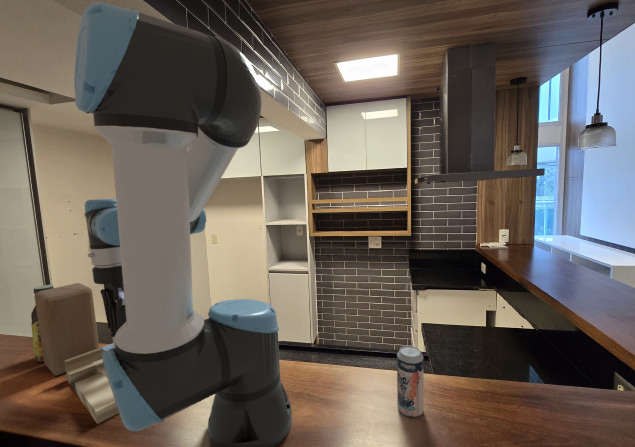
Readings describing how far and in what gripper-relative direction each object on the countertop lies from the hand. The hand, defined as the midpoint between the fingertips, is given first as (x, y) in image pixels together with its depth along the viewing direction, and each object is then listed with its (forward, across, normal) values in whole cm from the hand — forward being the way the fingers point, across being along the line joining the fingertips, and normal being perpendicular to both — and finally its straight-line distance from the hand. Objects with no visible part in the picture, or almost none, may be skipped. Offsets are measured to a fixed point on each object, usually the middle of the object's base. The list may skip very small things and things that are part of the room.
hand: (122, 358), depth 75 cm
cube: (+1, -3, -1) cm, 3 cm away
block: (+4, -17, -6) cm, 19 cm away
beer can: (+4, +61, +30) cm, 68 cm away
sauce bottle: (+4, -26, -10) cm, 28 cm away
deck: (+4, +4, -4) cm, 6 cm away
